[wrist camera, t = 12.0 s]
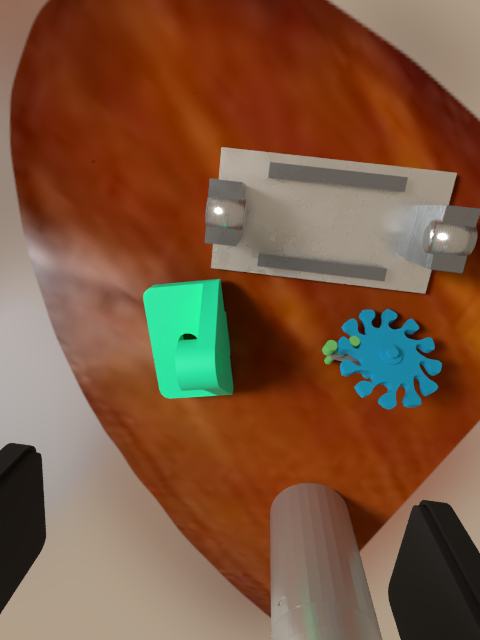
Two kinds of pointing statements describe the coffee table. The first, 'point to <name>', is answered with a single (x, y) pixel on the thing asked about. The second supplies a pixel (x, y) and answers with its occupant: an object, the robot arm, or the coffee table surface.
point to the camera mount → (189, 355)
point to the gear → (385, 358)
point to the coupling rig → (336, 220)
